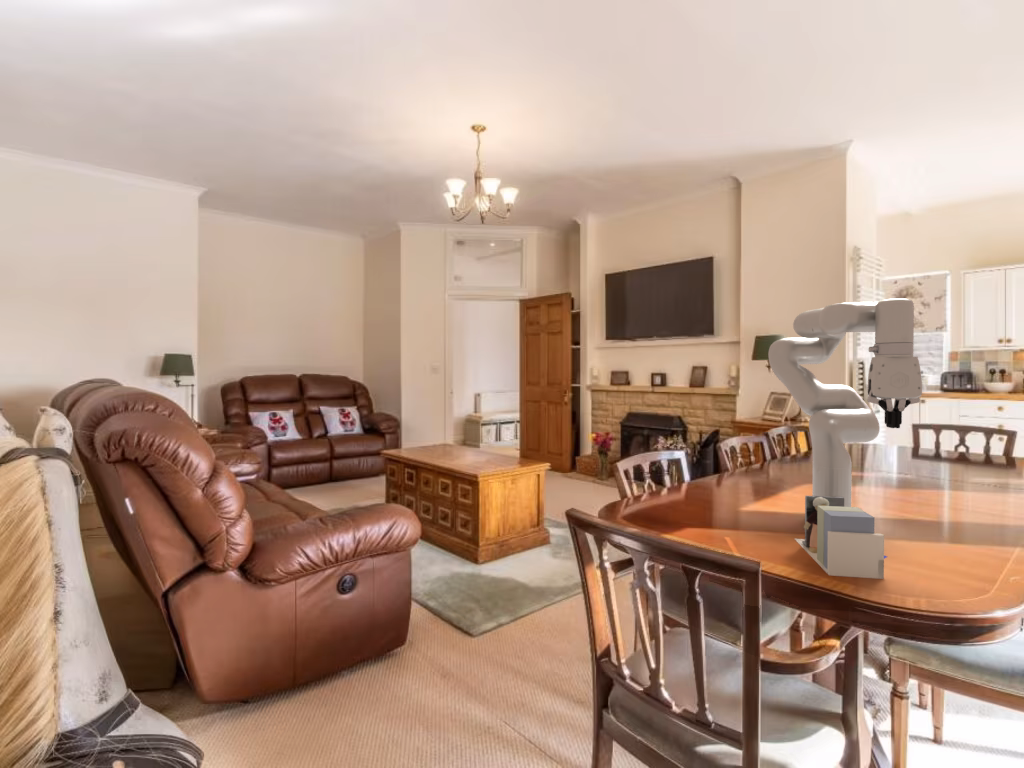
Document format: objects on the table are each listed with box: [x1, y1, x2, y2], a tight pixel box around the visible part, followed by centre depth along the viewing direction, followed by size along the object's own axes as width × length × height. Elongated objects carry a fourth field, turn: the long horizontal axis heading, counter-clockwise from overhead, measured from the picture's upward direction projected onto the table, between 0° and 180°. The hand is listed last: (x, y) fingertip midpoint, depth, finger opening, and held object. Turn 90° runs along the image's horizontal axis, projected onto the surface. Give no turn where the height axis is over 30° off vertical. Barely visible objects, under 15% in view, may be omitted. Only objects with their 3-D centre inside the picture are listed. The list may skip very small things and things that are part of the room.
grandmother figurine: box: [803, 497, 829, 553], centre depth 125 cm, size 8×4×13 cm, turn 109°
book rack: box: [794, 531, 885, 580], centre depth 122 cm, size 24×10×10 cm, turn 168°
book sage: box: [817, 506, 866, 566], centre depth 117 cm, size 4×8×12 cm, turn 78°
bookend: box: [802, 495, 844, 547], centre depth 128 cm, size 3×8×12 cm, turn 78°
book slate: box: [824, 511, 875, 569], centre depth 113 cm, size 4×8×12 cm, turn 78°
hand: (893, 427), depth 130 cm, fingers closed
